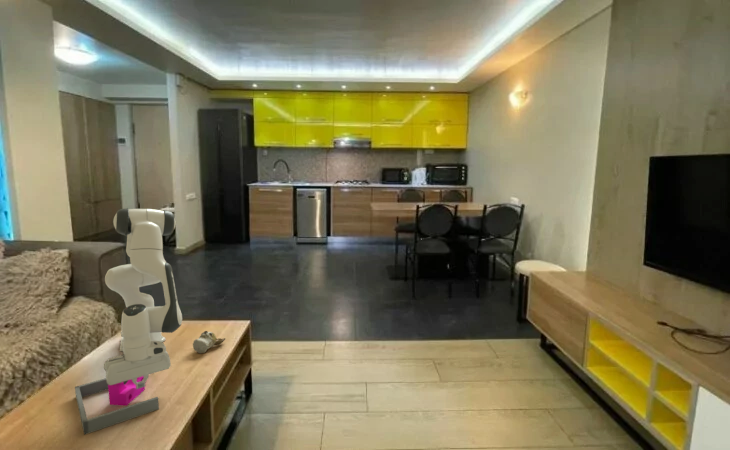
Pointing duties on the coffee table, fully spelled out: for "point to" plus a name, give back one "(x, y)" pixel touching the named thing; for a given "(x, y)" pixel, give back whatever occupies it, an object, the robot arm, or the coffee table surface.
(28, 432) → the coffee table surface
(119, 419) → the box
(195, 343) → the ceramic sculpture
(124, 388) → the magenta curved bracket
